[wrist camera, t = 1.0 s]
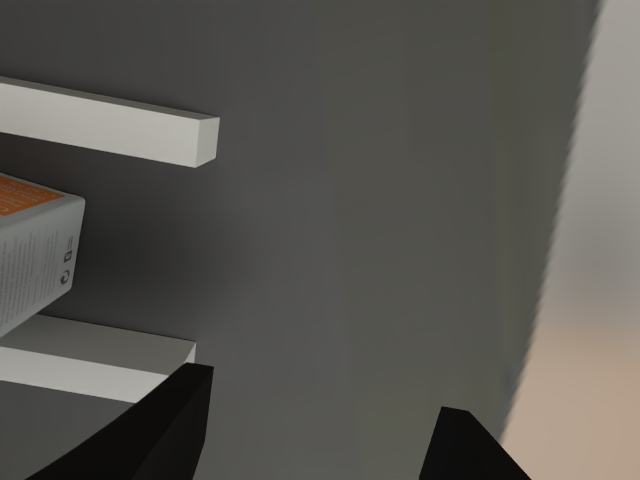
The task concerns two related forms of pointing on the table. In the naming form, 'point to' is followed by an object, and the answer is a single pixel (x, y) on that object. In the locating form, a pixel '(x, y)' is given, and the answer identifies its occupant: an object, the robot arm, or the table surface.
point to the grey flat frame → (79, 337)
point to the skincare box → (35, 247)
